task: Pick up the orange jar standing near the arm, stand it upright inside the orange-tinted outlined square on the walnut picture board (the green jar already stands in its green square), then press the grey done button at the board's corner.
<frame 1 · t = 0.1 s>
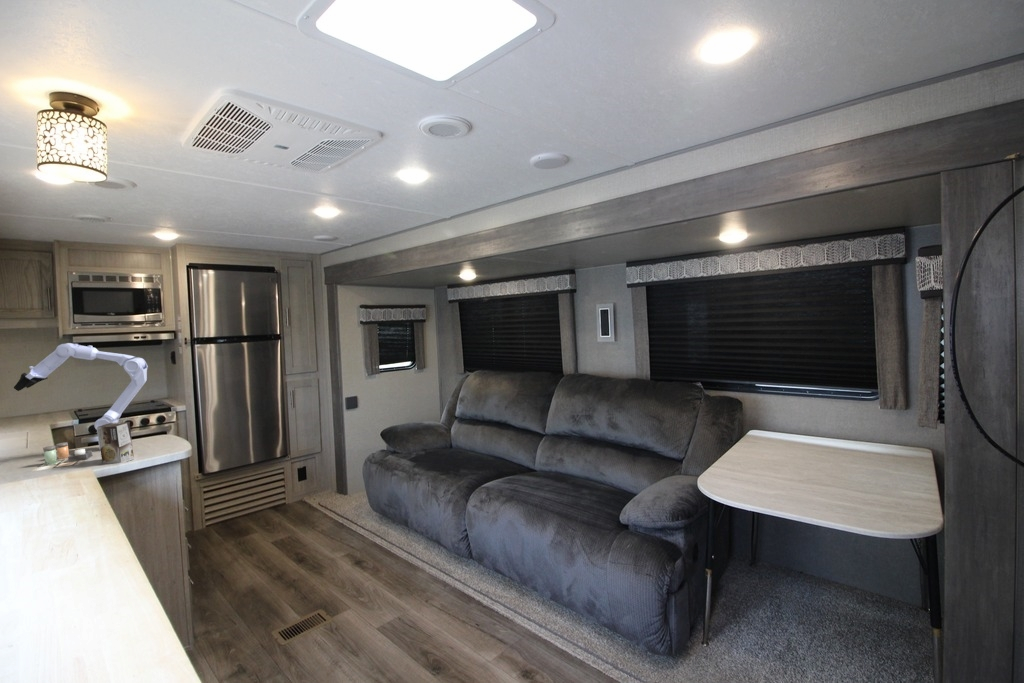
hand: (20, 387, 205), 32 cm above the worktop, tool tilted 50°, fingers open, 7 cm apart
orange jar: (63, 459, 207), on the worktop
done button: (80, 453, 204), point 3 cm above the worktop, slide at 0.0 cm
picture board: (61, 465, 199), on the worktop
coffee box: (118, 462, 201), on the worktop
green jar: (51, 463, 200), point 1 cm above the worktop, touching picture board
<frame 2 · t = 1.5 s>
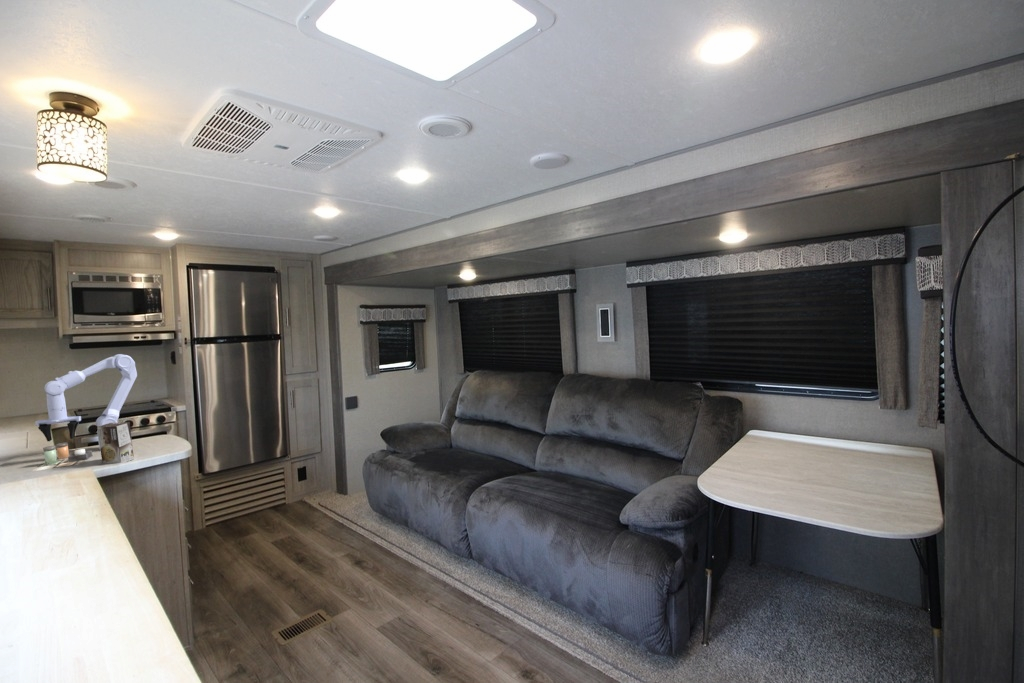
hand: (61, 439, 206), 9 cm above the worktop, tool pointing down, fingers open, 7 cm apart
nothing on the worktop moved.
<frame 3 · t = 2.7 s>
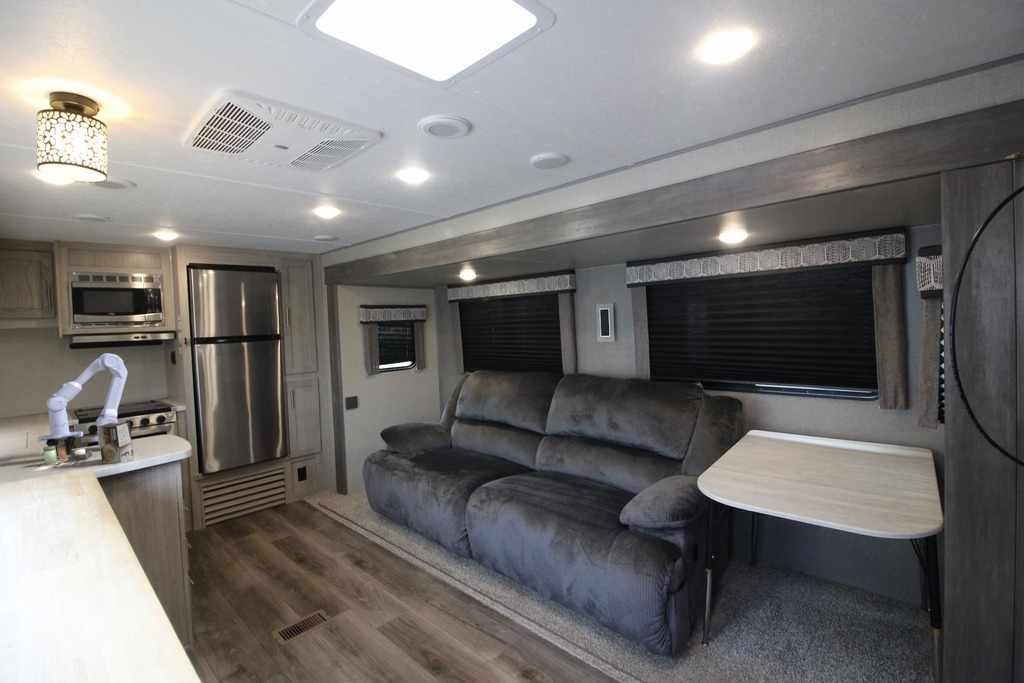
hand: (63, 455, 207), 2 cm above the worktop, tool pointing down, fingers closed on orange jar, 4 cm apart
orange jar: (63, 459, 207), on the worktop, touching gripper
everything else where it was.
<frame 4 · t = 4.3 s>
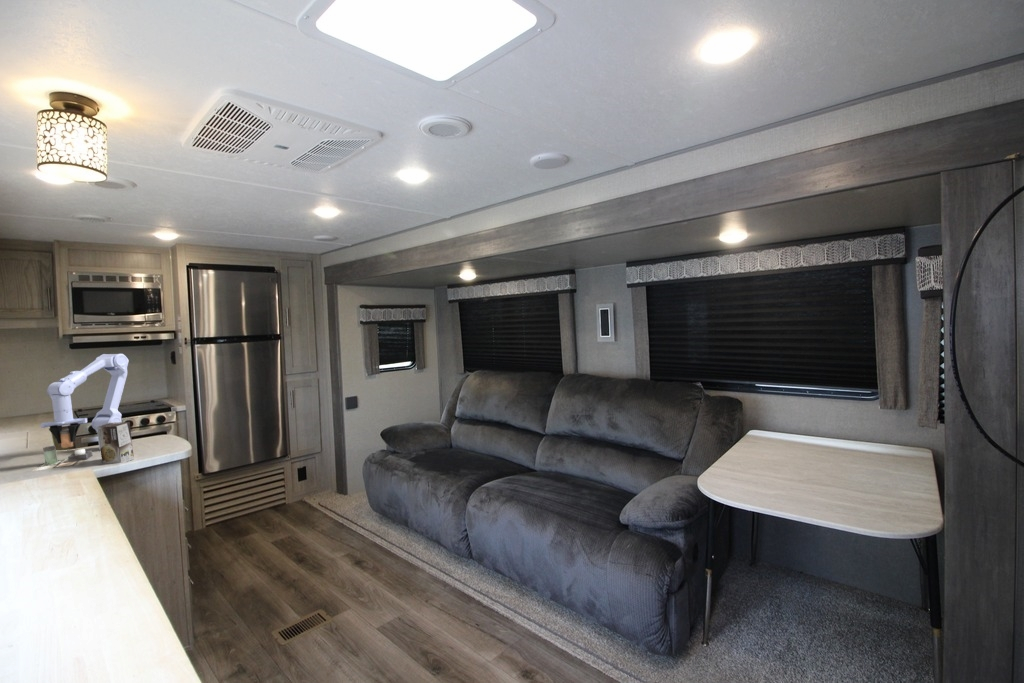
hand: (66, 442, 201), 9 cm above the worktop, tool pointing down, fingers closed on orange jar, 4 cm apart
orange jar: (67, 446, 201), point 7 cm above the worktop, touching gripper
everything else where it was.
when the fingers open (4 cm above the worktop, at t = 5.9 s): orange jar stays where it is, resting on picture board.
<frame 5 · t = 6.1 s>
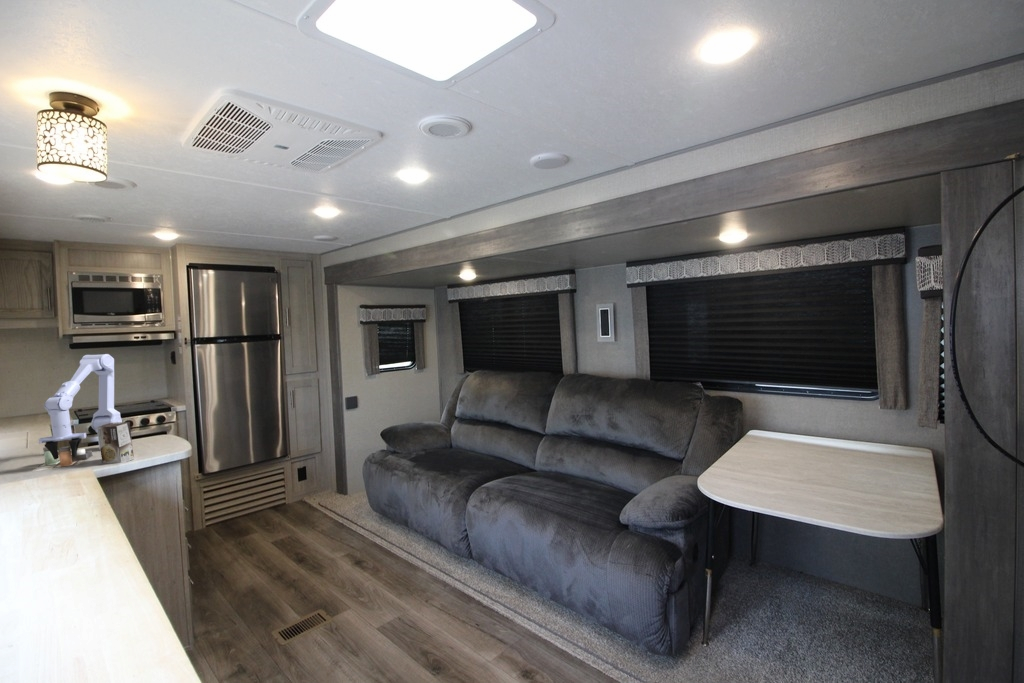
hand: (65, 457, 197), 4 cm above the worktop, tool pointing down, fingers open, 5 cm apart
orange jar: (66, 464, 197), point 1 cm above the worktop, touching picture board
everything else where it was.
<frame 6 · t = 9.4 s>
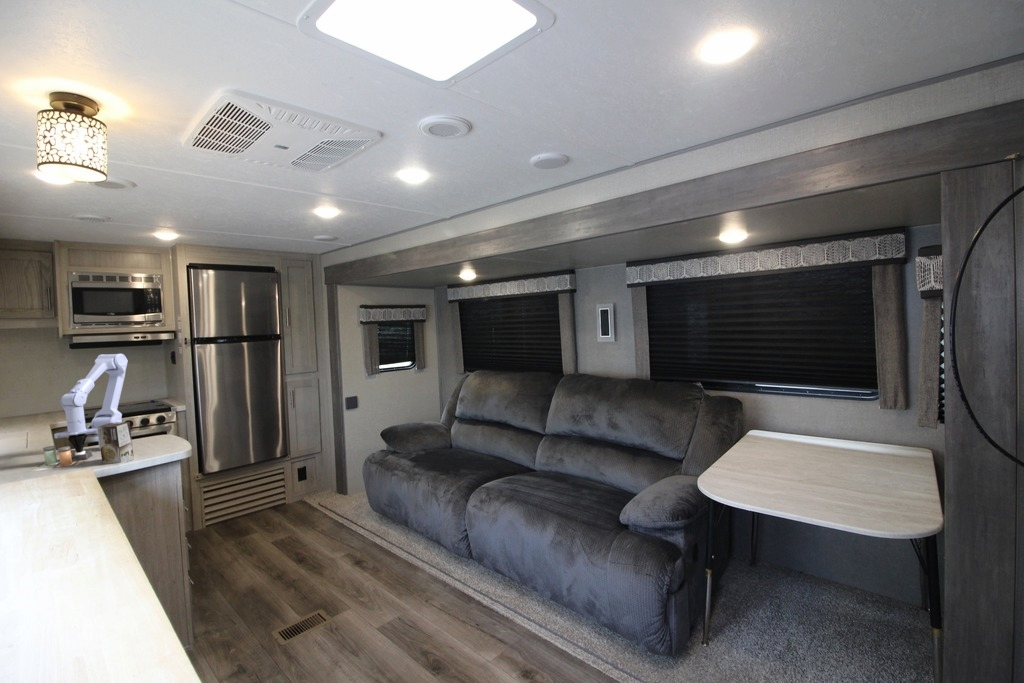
hand: (79, 452, 204), 4 cm above the worktop, tool pointing down, fingers closed, pressing on done button
done button: (80, 455, 204), point 2 cm above the worktop, slide at 0.9 cm, touching gripper
everything else where it was.
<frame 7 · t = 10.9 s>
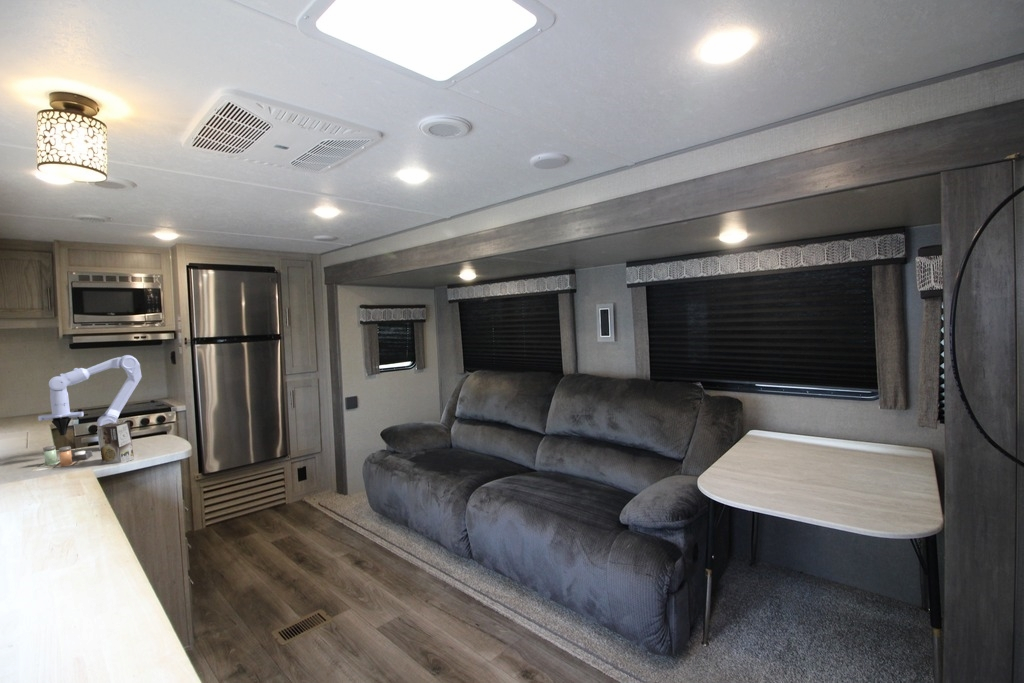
hand: (63, 434, 208), 10 cm above the worktop, tool pointing down, fingers closed
done button: (80, 455, 204), point 2 cm above the worktop, slide at 0.9 cm, touching picture board
everything else where it was.
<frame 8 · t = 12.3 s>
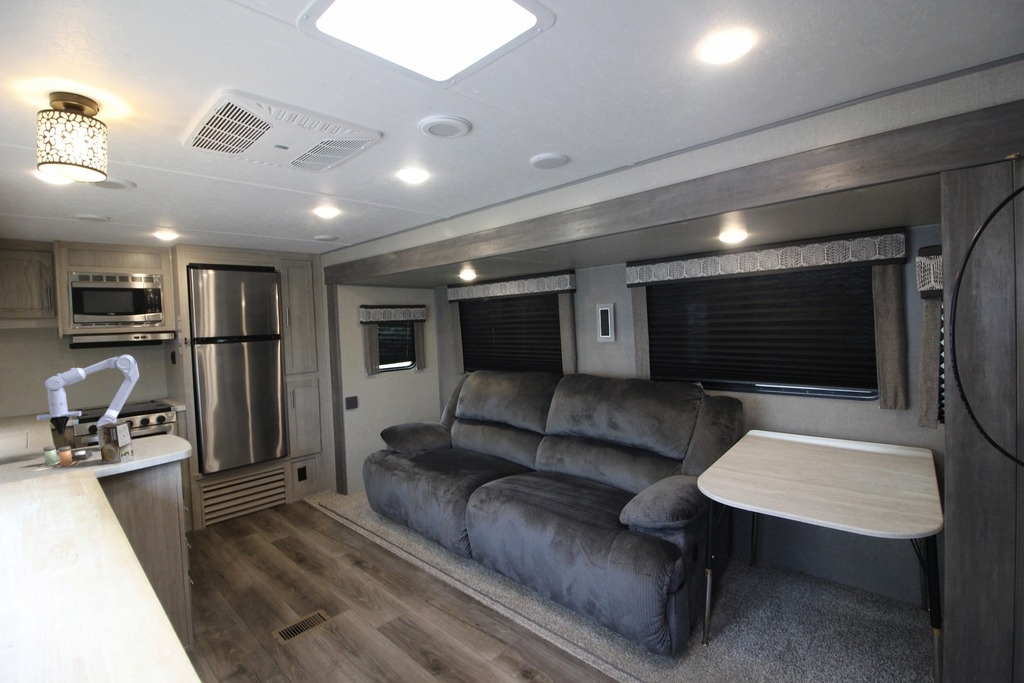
hand: (61, 434, 209), 10 cm above the worktop, tool pointing down, fingers closed
nothing on the worktop moved.
at the end: orange jar 0.0 cm from the target spot on the picture board, point 0.8 cm above the picture board's base; orange jar tilted 2°; done button slide at 0.9 cm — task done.
